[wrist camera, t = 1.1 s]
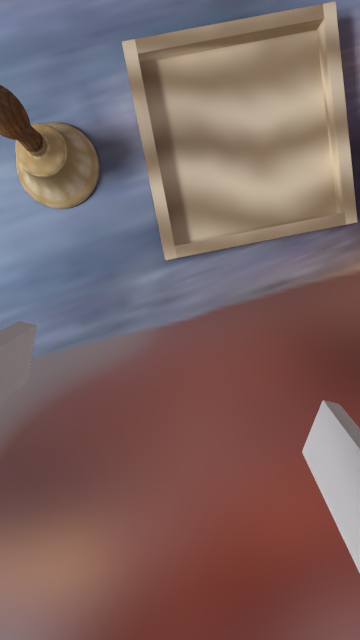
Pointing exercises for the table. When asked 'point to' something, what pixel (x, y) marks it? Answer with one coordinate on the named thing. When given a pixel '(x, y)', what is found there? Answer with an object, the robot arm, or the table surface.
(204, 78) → the tray
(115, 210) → the table surface
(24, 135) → the hand bell
